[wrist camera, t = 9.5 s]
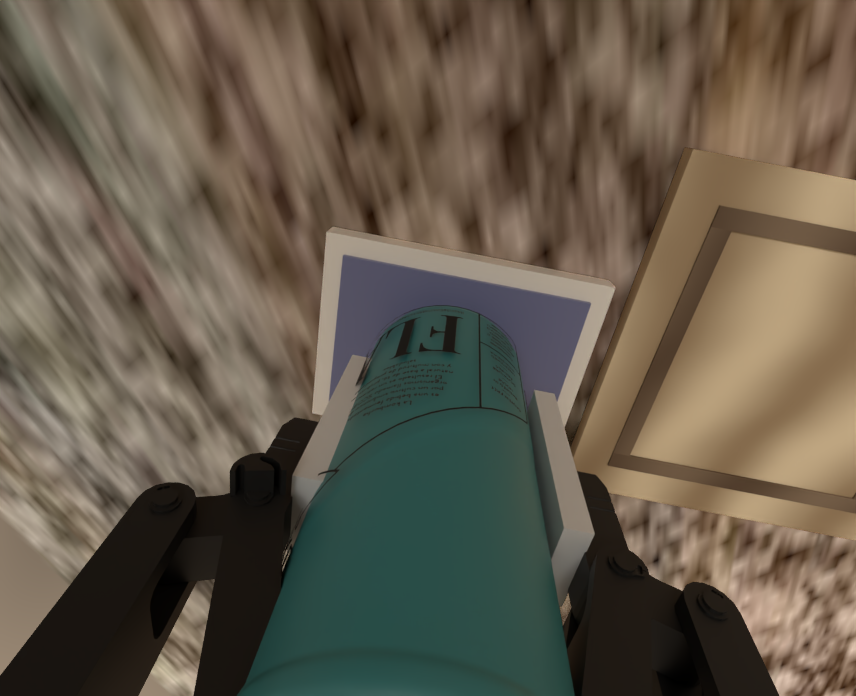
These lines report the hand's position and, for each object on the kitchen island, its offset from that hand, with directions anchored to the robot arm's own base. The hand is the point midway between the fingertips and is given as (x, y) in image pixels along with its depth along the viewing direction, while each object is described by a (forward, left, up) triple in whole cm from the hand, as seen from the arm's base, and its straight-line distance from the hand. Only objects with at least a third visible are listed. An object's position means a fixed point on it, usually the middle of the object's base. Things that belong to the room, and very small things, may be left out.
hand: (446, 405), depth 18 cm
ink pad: (0, 0, -5) cm, 5 cm away
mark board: (+15, +2, -5) cm, 16 cm away
